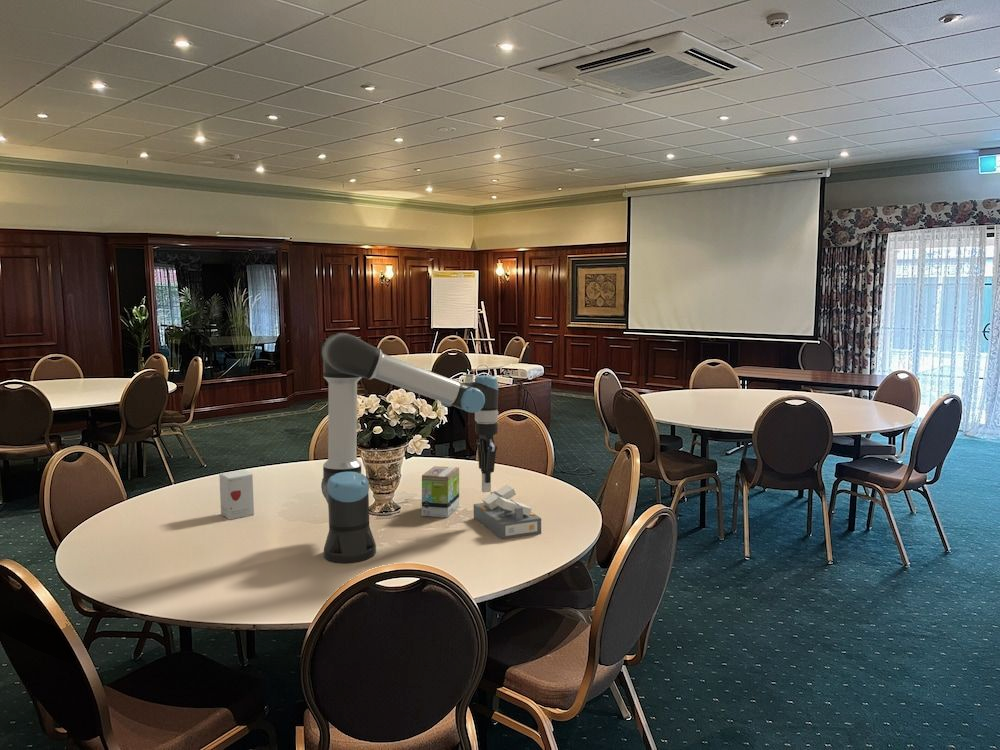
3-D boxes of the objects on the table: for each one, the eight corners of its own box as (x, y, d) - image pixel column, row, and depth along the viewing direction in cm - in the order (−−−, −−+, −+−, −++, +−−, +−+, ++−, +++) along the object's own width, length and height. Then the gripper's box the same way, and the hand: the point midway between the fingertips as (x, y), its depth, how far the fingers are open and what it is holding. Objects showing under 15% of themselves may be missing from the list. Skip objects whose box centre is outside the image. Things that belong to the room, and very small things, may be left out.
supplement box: (228, 520, 239) (226, 477, 238) (220, 514, 246) (218, 473, 244) (255, 515, 245) (253, 473, 243) (246, 509, 252) (244, 469, 250)
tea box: (449, 518, 239) (448, 476, 238) (421, 516, 241) (420, 475, 240) (460, 505, 254) (459, 466, 252) (433, 504, 256) (433, 465, 254)
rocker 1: (491, 510, 231) (488, 503, 230) (484, 505, 236) (481, 499, 236) (516, 494, 234) (513, 488, 233) (509, 490, 239) (506, 483, 239)
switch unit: (501, 539, 216) (501, 512, 215) (473, 518, 238) (473, 493, 238) (541, 533, 222) (541, 506, 221) (511, 513, 244) (510, 488, 243)
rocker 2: (502, 508, 219) (505, 500, 219) (495, 503, 225) (497, 496, 225) (529, 516, 223) (531, 508, 223) (521, 511, 228) (524, 503, 229)
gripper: (504, 424, 226) (504, 495, 228) (489, 418, 238) (489, 485, 240) (483, 425, 223) (482, 497, 225) (469, 419, 235) (468, 488, 237)
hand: (486, 491), depth 233 cm, fingers closed
